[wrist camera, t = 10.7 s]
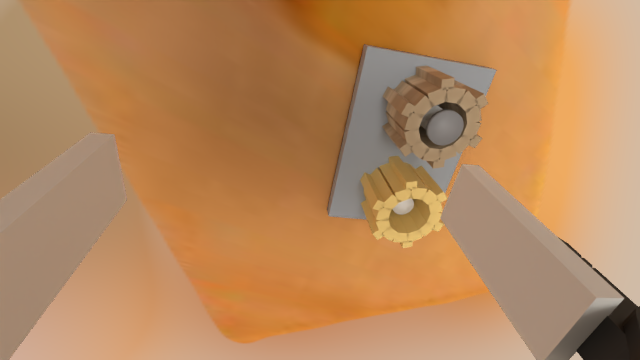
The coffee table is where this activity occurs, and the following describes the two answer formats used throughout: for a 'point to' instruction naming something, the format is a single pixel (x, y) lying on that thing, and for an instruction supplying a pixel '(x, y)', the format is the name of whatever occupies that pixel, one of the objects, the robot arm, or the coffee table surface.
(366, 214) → the ochre gear
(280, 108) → the coffee table surface
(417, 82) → the gear
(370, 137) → the gear board
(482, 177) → the robot arm
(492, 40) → the coffee table surface
